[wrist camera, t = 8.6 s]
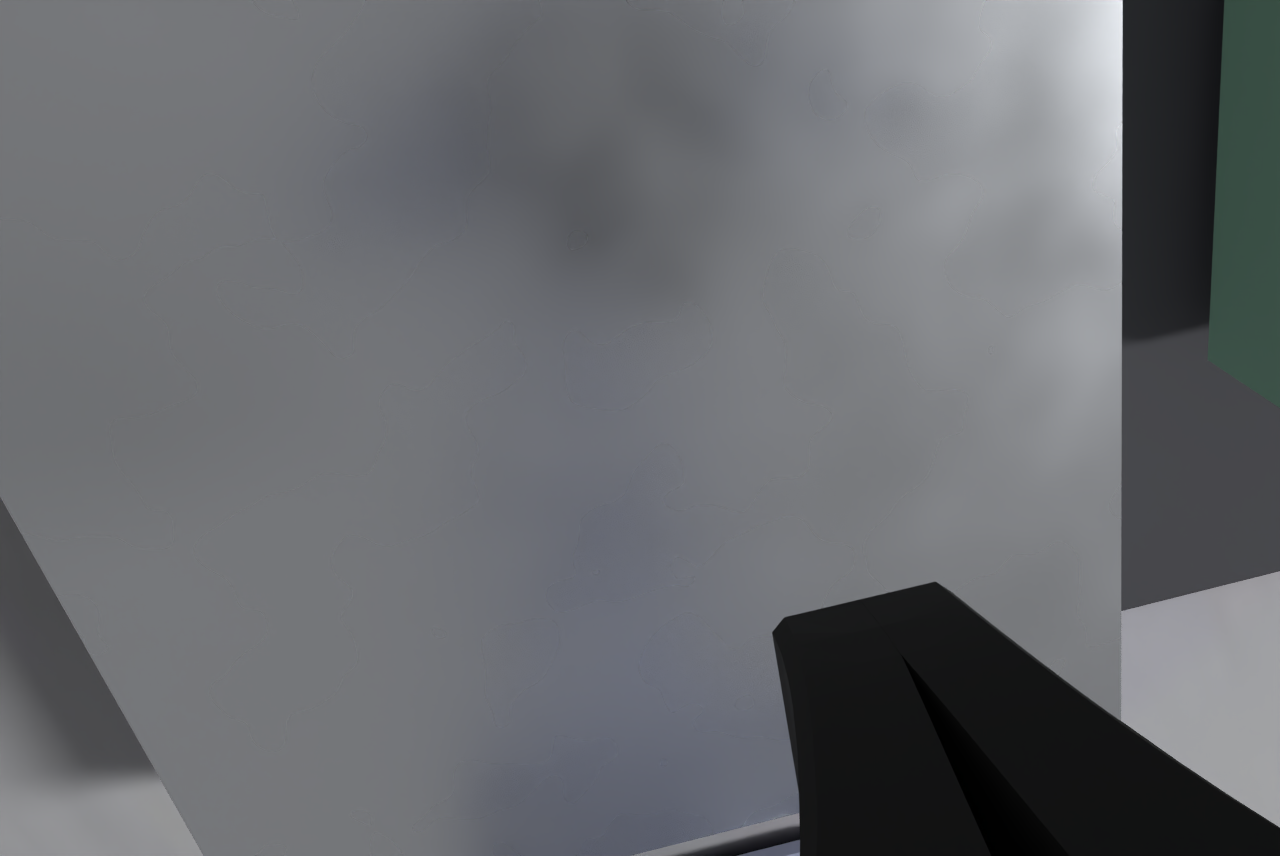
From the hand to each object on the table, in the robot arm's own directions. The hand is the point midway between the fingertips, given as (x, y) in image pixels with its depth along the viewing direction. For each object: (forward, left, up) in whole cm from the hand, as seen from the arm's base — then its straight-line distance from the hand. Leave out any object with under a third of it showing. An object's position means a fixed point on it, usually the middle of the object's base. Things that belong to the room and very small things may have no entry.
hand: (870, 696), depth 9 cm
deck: (+1, +2, -10) cm, 10 cm away
